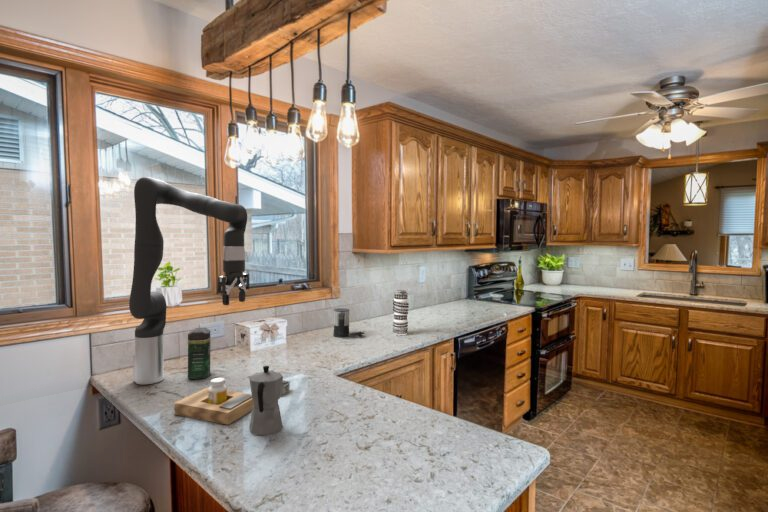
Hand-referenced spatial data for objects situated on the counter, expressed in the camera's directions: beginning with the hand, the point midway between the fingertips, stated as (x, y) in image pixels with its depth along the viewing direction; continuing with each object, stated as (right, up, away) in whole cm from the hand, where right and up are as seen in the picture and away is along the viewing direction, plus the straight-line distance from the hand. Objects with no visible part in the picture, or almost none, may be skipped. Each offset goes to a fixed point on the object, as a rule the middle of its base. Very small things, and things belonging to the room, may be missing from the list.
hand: (234, 303), depth 149 cm
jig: (+2, -31, -21) cm, 37 cm away
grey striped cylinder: (+64, -28, +85) cm, 110 cm away
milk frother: (+35, -28, +79) cm, 90 cm away
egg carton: (+16, -31, -4) cm, 35 cm away
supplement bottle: (+2, -31, -21) cm, 38 cm away
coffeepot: (+21, -32, -34) cm, 51 cm away
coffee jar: (-17, -30, +10) cm, 36 cm away
